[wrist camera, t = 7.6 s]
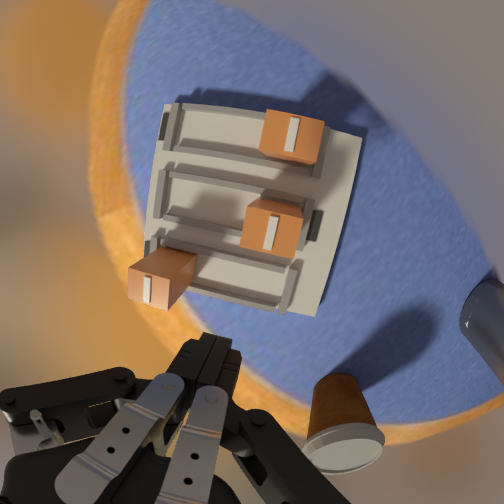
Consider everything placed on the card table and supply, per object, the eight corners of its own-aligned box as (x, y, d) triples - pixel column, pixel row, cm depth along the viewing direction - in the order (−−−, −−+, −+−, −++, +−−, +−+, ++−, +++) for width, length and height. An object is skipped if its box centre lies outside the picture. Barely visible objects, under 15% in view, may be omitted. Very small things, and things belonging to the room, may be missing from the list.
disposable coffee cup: (287, 387, 34) (283, 458, 22) (346, 351, 31) (363, 424, 20) (326, 418, 35) (329, 482, 24) (380, 388, 32) (399, 453, 21)
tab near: (315, 134, 23) (325, 120, 16) (309, 165, 24) (316, 162, 17) (273, 125, 24) (266, 108, 17) (266, 156, 24) (258, 149, 18)
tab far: (196, 254, 28) (168, 280, 21) (193, 280, 29) (166, 312, 22) (162, 246, 28) (127, 268, 22) (160, 271, 29) (127, 299, 22)
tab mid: (299, 206, 25) (303, 219, 19) (292, 236, 26) (293, 260, 19) (258, 197, 26) (246, 206, 19) (252, 227, 27) (238, 247, 20)
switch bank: (358, 139, 24) (364, 136, 22) (313, 310, 30) (315, 321, 28) (170, 106, 26) (160, 102, 23) (148, 268, 31) (138, 276, 29)
